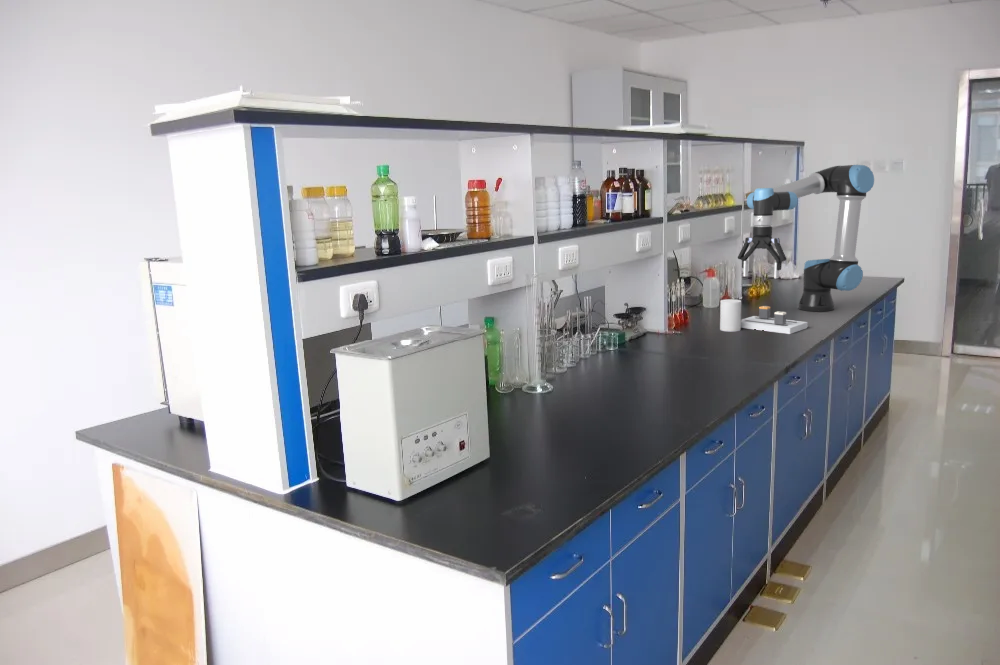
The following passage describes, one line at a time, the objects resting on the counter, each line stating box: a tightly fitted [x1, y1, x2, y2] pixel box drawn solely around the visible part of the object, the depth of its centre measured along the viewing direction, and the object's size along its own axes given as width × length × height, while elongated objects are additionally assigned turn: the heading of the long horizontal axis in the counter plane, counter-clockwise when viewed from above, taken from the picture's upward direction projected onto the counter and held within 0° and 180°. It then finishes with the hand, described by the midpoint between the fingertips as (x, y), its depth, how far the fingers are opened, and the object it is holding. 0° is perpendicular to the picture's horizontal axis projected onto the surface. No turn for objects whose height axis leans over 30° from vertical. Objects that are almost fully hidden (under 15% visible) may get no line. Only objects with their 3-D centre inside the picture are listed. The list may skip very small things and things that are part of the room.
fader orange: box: [758, 305, 771, 319], centre depth 309 cm, size 3×4×5 cm
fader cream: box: [773, 310, 787, 325], centre depth 296 cm, size 3×4×5 cm
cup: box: [719, 298, 742, 333], centre depth 303 cm, size 8×8×12 cm
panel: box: [741, 315, 809, 335], centre depth 304 cm, size 15×24×3 cm, turn 42°
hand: (760, 277), depth 307 cm, fingers open, 13 cm apart
